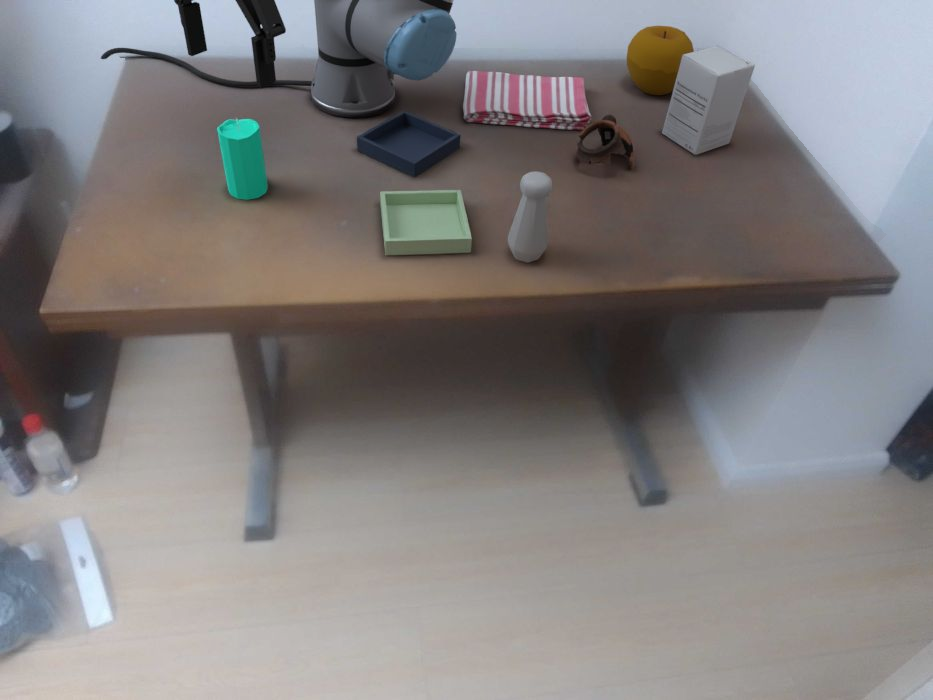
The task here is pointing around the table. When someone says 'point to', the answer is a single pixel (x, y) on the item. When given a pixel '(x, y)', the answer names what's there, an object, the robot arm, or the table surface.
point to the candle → (243, 158)
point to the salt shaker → (531, 218)
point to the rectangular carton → (707, 99)
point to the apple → (657, 58)
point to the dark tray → (408, 143)
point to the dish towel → (525, 100)
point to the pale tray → (424, 222)
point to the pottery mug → (605, 142)
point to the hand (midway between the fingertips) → (231, 68)
